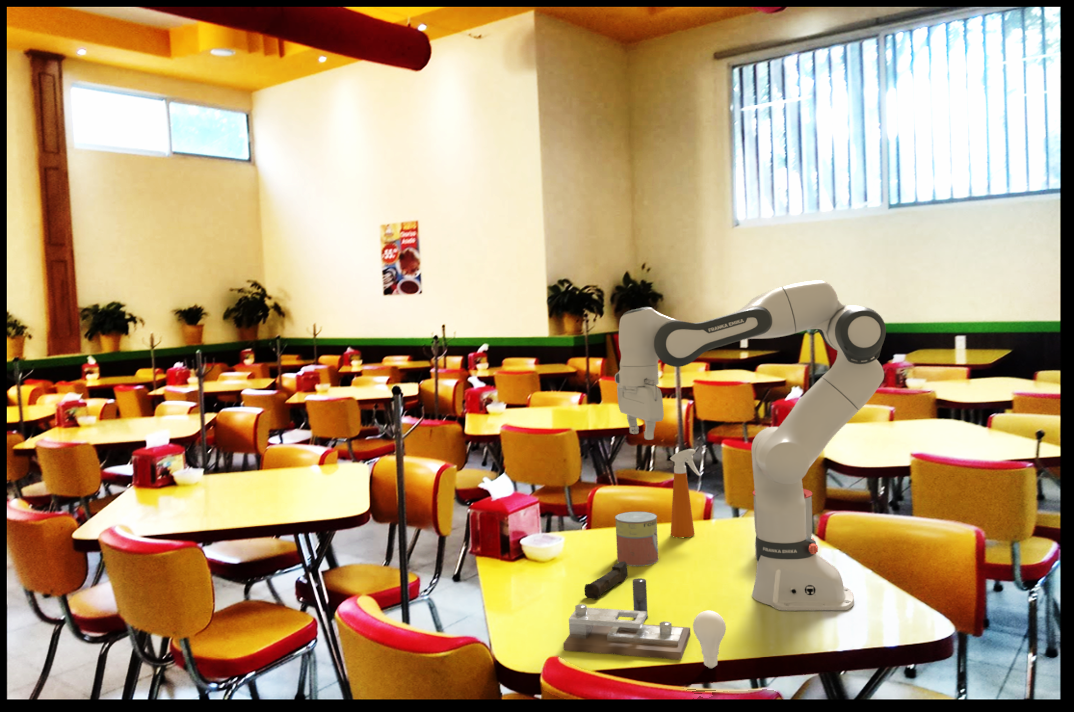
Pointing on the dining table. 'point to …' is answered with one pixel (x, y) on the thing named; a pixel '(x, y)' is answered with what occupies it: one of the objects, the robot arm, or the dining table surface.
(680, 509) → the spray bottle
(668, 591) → the dining table surface
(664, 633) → the metal clamp fixture
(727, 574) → the dining table surface
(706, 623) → the lightbulb
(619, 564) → the hand tool
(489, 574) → the dining table surface
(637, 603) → the steel pin
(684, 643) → the walnut board
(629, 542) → the canned food
